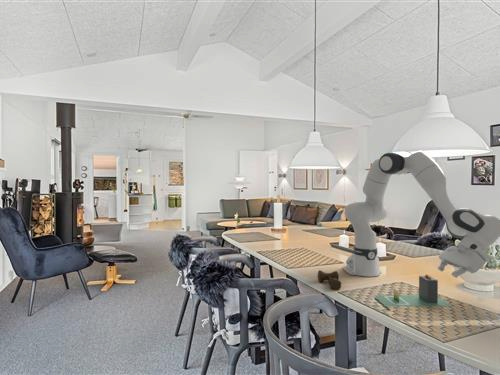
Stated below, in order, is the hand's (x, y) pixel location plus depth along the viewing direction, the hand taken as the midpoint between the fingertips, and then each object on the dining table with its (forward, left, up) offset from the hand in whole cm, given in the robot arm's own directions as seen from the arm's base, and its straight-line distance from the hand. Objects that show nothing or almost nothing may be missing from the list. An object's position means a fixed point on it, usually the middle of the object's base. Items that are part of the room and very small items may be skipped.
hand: (446, 273), depth 139 cm
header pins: (-3, -20, -11) cm, 23 cm away
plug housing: (-1, -7, -11) cm, 13 cm away
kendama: (-35, -35, -13) cm, 51 cm away
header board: (-2, -14, -13) cm, 19 cm away
